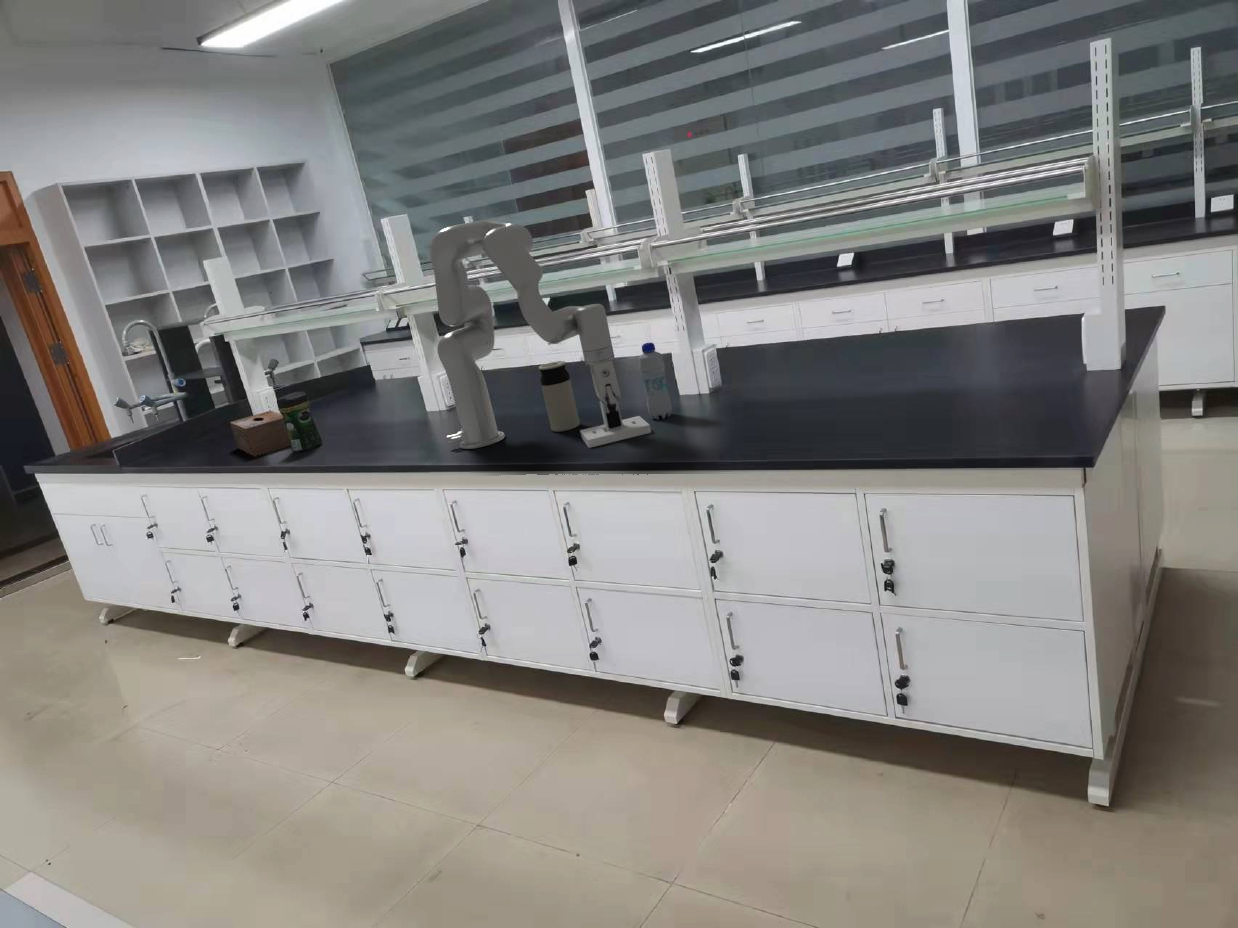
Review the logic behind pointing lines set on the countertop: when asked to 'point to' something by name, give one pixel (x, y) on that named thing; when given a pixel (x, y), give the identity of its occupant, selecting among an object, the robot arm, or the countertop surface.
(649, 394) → the bottle
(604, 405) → the charger
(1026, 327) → the countertop surface
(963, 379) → the countertop surface
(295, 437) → the coffee jar
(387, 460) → the countertop surface
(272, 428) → the tissue box cover
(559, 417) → the travel mug
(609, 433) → the outlet plate
